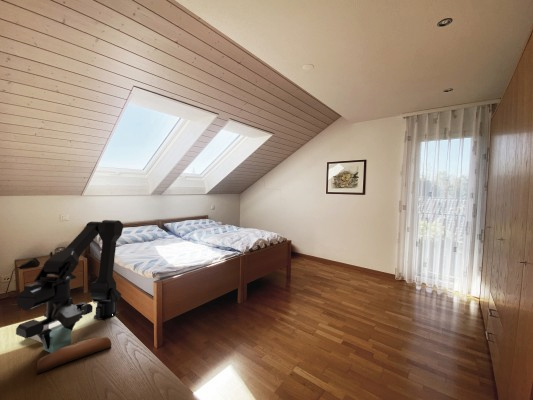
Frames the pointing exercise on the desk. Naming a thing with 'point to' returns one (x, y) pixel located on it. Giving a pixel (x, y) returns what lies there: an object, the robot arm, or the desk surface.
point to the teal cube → (59, 339)
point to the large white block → (51, 326)
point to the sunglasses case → (72, 353)
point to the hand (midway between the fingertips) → (57, 344)
